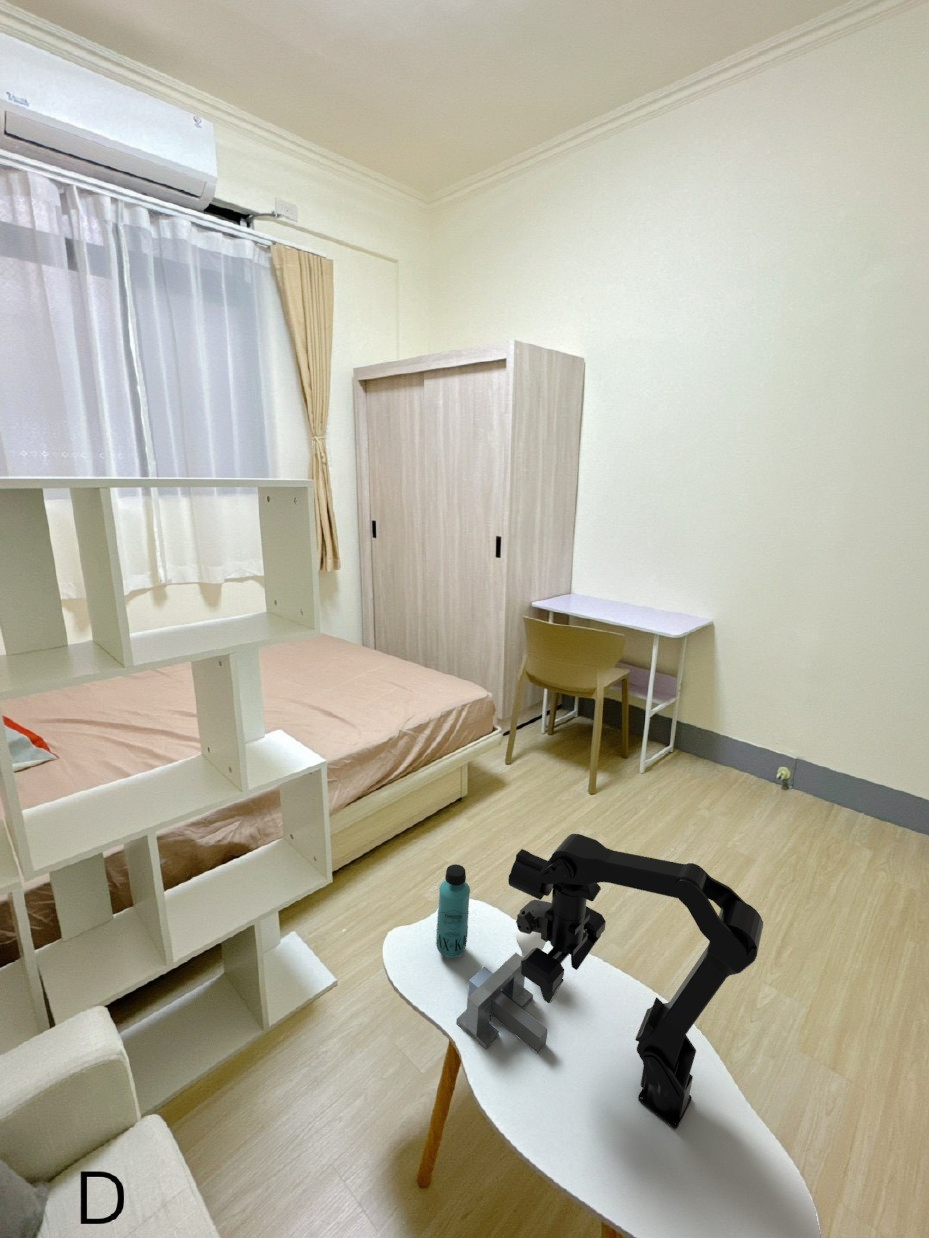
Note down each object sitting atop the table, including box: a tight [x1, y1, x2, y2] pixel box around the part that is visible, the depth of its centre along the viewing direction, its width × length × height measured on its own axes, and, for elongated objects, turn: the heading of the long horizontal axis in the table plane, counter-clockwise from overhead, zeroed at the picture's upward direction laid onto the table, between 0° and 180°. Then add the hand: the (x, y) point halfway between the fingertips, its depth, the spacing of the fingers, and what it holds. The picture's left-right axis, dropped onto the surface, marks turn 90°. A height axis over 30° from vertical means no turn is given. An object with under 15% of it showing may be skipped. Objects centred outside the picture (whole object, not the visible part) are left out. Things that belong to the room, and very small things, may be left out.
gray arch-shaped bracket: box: [455, 952, 534, 1050], centre depth 107 cm, size 7×14×8 cm, turn 138°
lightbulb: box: [515, 927, 547, 958], centre depth 116 cm, size 6×6×11 cm
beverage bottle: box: [435, 863, 471, 958], centre depth 118 cm, size 6×7×20 cm
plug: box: [467, 966, 548, 1055], centre depth 106 cm, size 16×4×5 cm, turn 48°
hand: (561, 983), depth 101 cm, fingers open, 9 cm apart
